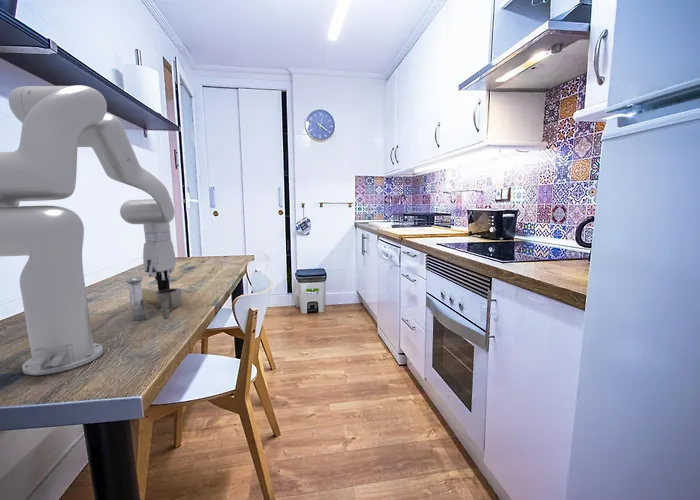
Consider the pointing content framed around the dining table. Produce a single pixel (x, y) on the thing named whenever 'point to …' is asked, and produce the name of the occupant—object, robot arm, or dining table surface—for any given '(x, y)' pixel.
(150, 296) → the hinge leaf
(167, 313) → the hinge leaf
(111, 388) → the dining table surface
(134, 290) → the pin
